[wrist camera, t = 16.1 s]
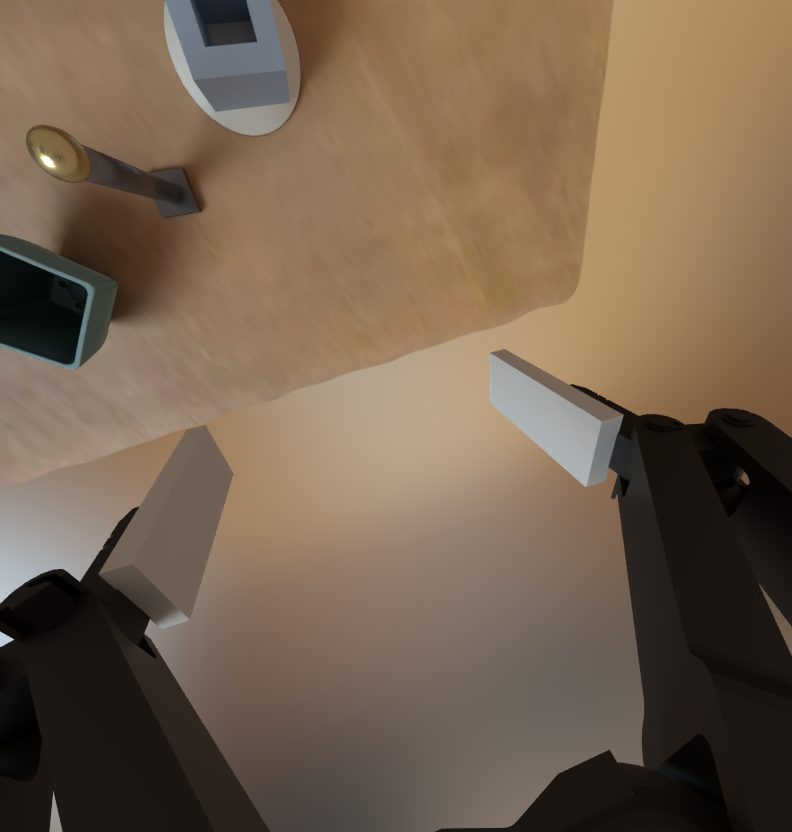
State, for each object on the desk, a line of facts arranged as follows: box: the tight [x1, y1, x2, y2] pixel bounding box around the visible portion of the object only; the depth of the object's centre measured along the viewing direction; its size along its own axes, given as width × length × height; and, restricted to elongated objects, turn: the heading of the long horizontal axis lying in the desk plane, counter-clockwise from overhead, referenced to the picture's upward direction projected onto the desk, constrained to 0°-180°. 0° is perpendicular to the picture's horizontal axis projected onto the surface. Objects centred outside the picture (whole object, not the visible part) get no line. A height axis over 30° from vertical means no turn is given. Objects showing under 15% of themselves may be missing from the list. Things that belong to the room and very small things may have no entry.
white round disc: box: [164, 0, 300, 136], centre depth 28 cm, size 11×11×1 cm
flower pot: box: [0, 234, 118, 370], centre depth 30 cm, size 9×9×9 cm
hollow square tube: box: [165, 0, 290, 112], centre depth 25 cm, size 7×7×7 cm
